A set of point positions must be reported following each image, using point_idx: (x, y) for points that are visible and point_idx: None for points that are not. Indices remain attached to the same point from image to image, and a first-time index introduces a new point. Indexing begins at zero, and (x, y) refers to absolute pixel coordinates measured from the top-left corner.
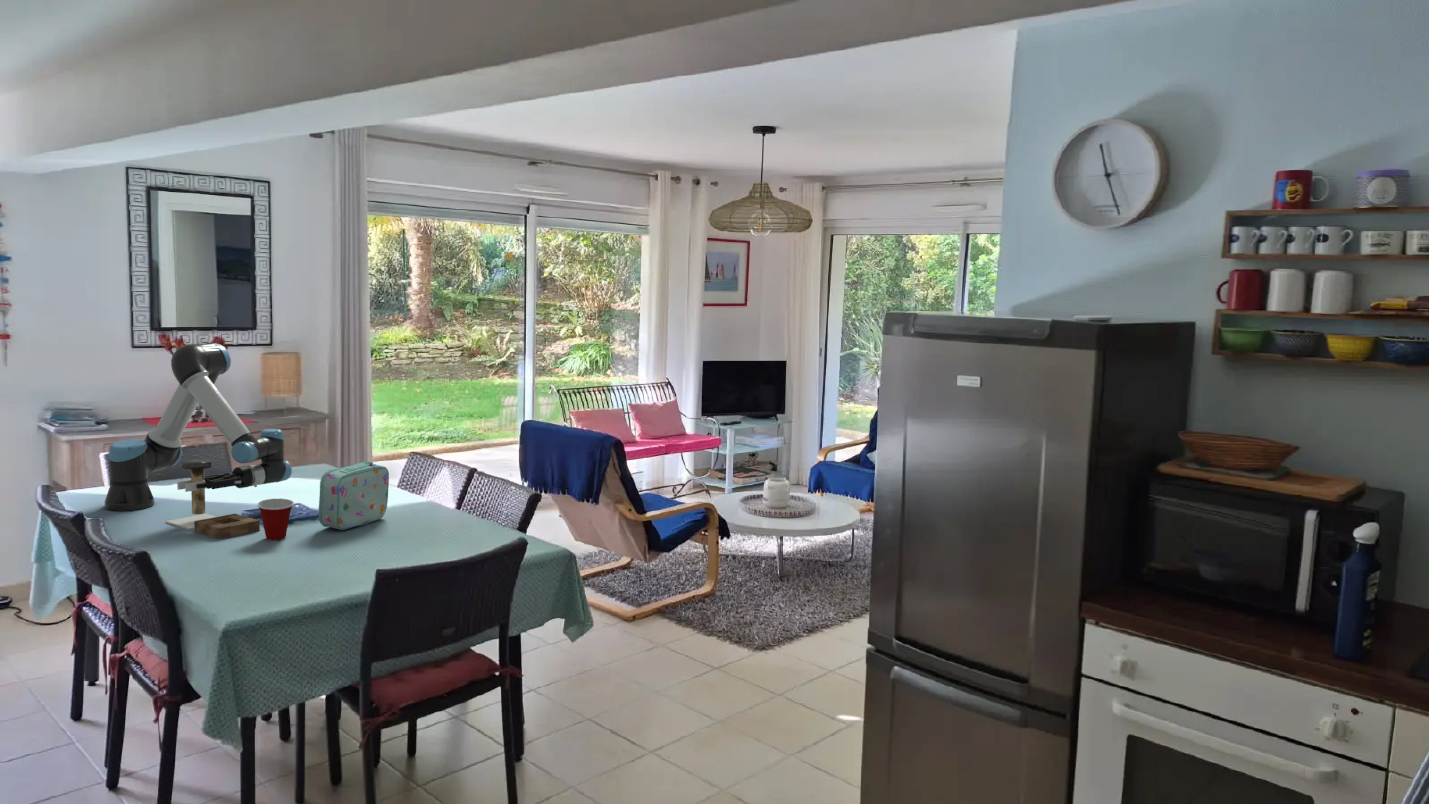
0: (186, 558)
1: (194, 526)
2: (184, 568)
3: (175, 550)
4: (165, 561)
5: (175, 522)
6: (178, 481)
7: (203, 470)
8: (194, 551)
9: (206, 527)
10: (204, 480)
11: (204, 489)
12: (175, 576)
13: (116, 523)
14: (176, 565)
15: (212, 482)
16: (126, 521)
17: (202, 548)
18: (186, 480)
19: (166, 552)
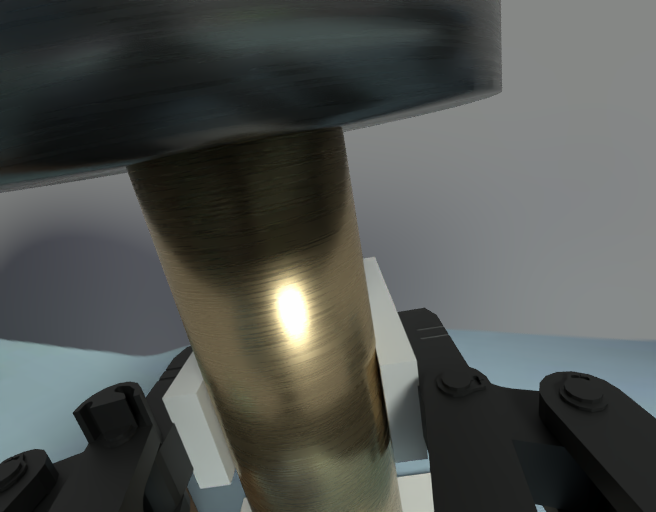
0: (34, 380)
1: (187, 491)
2: (7, 361)
3: (105, 380)
4: (79, 350)
5: (421, 493)
6: (373, 260)
7: (152, 237)
8: (37, 409)
9: None
10: (229, 416)
11: (252, 509)
12: (8, 344)
13: (559, 339)
14: (37, 357)
15: (16, 462)
16: (592, 363)
17: (20, 435)
18: (371, 288)
19: (119, 364)
